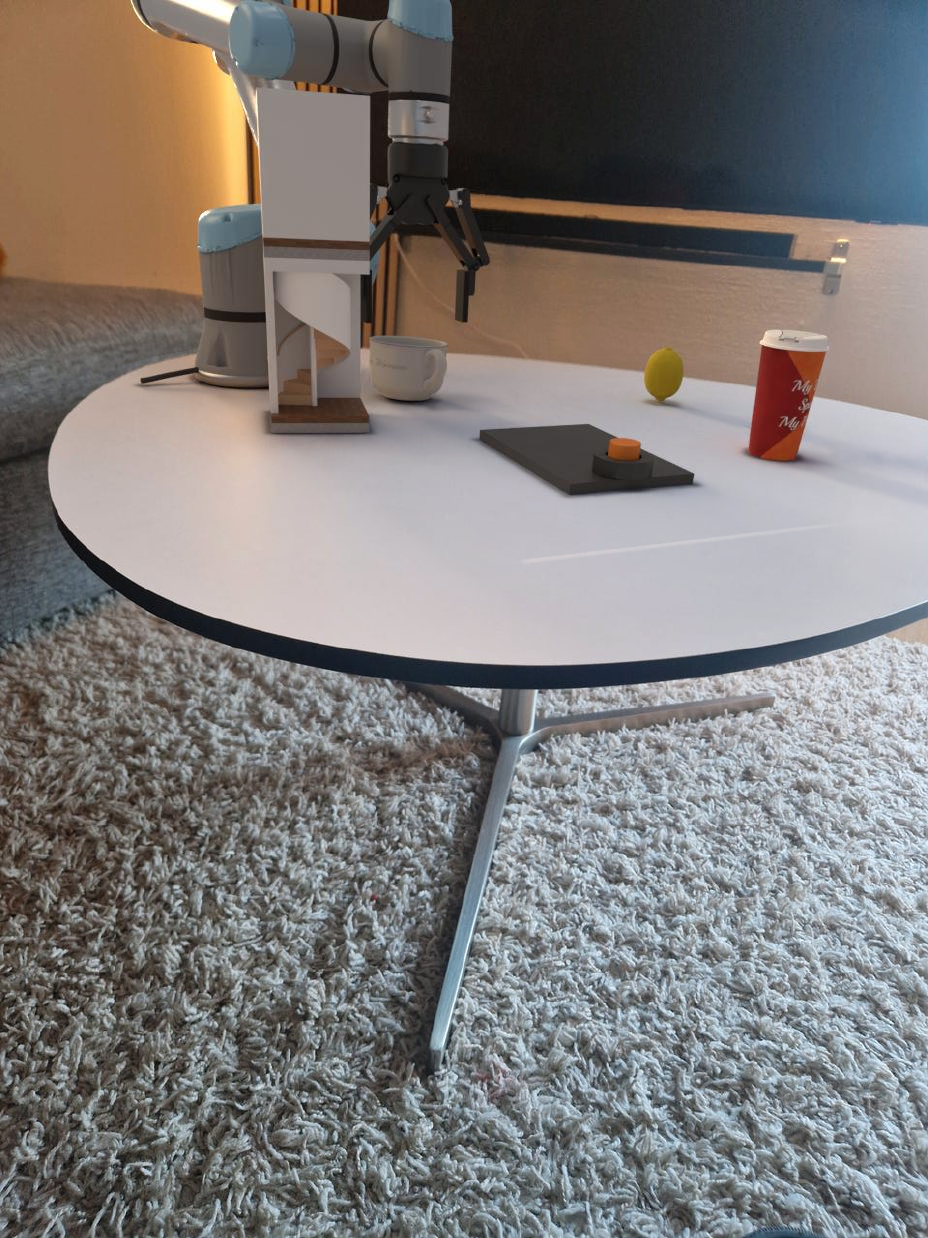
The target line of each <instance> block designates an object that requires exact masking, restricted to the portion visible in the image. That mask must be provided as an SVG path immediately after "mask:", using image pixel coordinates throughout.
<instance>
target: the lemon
mask: <svg viewBox="0 0 928 1238" xmlns="http://www.w3.org/2000/svg"><path fill="white" fill-rule="evenodd" d="M683 379H684V361H683V359H682V357H681V355H680V354H679V353H678V352H676V351H675V350H674V349H672V348H671V346H668V345H667V346H665V347H663V348H662V349H659V350H657V351H655V352H654V353H653V354H652V355H651V356H650V357H649V359H648V360H647V363H646V366H645V368H644V375H643V382H644V387H645V389H646V391H647V392H648V394H649V395H650V396H652V397H654V398H655V401H656V402H658V403H663V402H664V401H665V400H666V399H668V398H671V397H673V396H674V395H675V394H676V393H677V392H678V391H679V389H680V387H681V386H682V383H683Z"/></svg>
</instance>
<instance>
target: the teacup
mask: <svg viewBox="0 0 928 1238" xmlns="http://www.w3.org/2000/svg"><path fill="white" fill-rule="evenodd" d="M368 341H369V355H368V357H369V359H368V362H369V363H368V370H369V379H370V382H371V384H372V386H373V387H374V388H375V389H377V391H378V392H379V393H380V395H382V396H383V397H385V398H388V399H393V400H398V401H399V400H400V401H411V402H412V401H413V402H414V401H427V400H429V399H430V398H432V396H433V395H435V394H436V393H438V392H439V390H441V388H442V386H443V384H444V381H445V380H444V379H445V376H446V373H447V368H448V361H447V352H448V351H447V350H448V348H449V344H448V343H447V342H445V341H442V340H438V339H431V338H423V337H418V336H417V337H416V336H406V335H405V336H404V335H402V336H401V335H374V336H370V337H369V338H368Z"/></svg>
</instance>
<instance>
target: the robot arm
mask: <svg viewBox="0 0 928 1238" xmlns="http://www.w3.org/2000/svg"><path fill="white" fill-rule="evenodd" d="M130 2H131V5H132V7H133V10H134V12H135V14H136V15H137V18H138V19H139V20H140V21H141V22H142V23H143V24H144V26H146V27H147V28H148V29H149V30H151V31H152V32H154V33H156V34H158V35H159V36H162V37H165V38H167V39H171V40H175V41H179V42H185V43H188V44H189V43H190V44H196V45H203V46H205V47H207V48H209V49H210V50H211V54H212V55H213V58H214V61H215V63H216V65H217V67H218V69H220V70H221V72H223V73H224V74H226V75H228V76H230V77H231V79H232V81H233V84H234V87H235V90H236V93H237V96H238V98H239V101H240V104H241V107H242V109H243V112H244V115H245V118H246V120H247V123H248V126H249V130H250V132H251V135H252V138H253V140H254V143H255V146H256V149H257V151H258V152H259V149H258V126H257V104H256V87H257V88H270V89H284V90H297V87H296V84H295V83H305V84H314V85H316V86H317V85H319V86H324V87H333V88H340V89H343V90H344V91H346V92H349V93H354V94H364V95H371V94H373V93H377V92H378V93H379V92H385V91H386V92H387V91H388V96H387V97H388V99H387V100H388V105H387V106H388V108H387V110H388V111H387V137H388V138H389V139H392V143H389V146H387V183H386V184H385V185H386V186H382V185H381V186H379V185H377V184H376V183H371V182H370V275H367V274H360V322H362V323H365V324H373V285H374V283H375V281H376V278H377V275H378V272H379V263H380V258H381V257H380V256H381V247H382V246H383V245H384V244H385V243H386V242H387V240H388V239H389V238H390V236H391V234H393V232H394V231H395V230H396V229H397V228H398V227H399V226H400V225H401V223H402V224H403V225H411V226H412V225H417V224H418V225H422V226H431V225H432V226H433V227H434V228H435V229H436V230H437V232H439V234H440V235H441V237H442V239H443V240H444V242H445V243H446V244H447V246H448V248H449V249H450V251H451V252H452V254H453V255H454V256H455V259H457V261H458V263H459V264H460V266H462V268H463V269H456V282H455V283H456V284H455V309H454V320H455V321H457V322H459V323H468V322H469V301H470V300H469V299H470V297H472V296H473V297H474V295H475V293H476V276H477V272H478V271H479V270H480V268H482V267H485V266H486V267H487V266H489V265H490V263H491V259H490V256H489V253H488V251H487V247H486V245H485V242H484V239H483V237H482V234H481V232H480V228H479V225H478V222H477V220H476V217H475V215H474V212H473V208H472V202H471V201H472V199H471V191H470V189H468V188H465V187H458V188H456V189H451V190H449V187H448V183H447V181H448V172H449V171H448V170H449V169H448V167H449V149H448V147H447V146H445V145H444V142H447V141H448V140H449V135H450V98H451V79H452V77H451V74H452V53H453V40H454V35H453V9H452V4H451V1H450V0H389V1H388V4H389V5H388V12H387V18H386V19H380V20H364V19H359V18H352V17H347V16H341V15H336V14H329V13H326V12H325V13H324V12H316V11H311V10H309V9H303V8H299V7H293V2H292V0H130ZM383 198H384V199H385V200H386V202H387V204H388V205H389V207H390V208H389V209H388V210H387V212H386V213H385V215H384V216H382V220H381V222H380V223H379V224H378V226H375V225H374V224H373V222H372V221H371V220H372V217H373V215H374V213H375V210H376V208H377V205H379V204H380V203H381V202H382V201H383V200H382V199H383ZM449 202H450V203H451V206H452V207H453V208H455V211H456V215H457V218H458V220H459V223H460V226H461V229H462V231H463V233H464V236H465V239H466V242H467V244H468V247H469V248H467V245H465V243H464V241H463V240H462V238H461V237H460V235H459V233H458V232H457V231H456V230H455V228H454V226H453V225H452V223H451V220H450V218H449V217H448V215H447V214H446V212H445V211H444V209H445V208H446V206H447V205H448V203H449ZM196 248H197V251H198V258H199V270H200V271H199V272H200V283H201V297H202V307H203V328H202V331H201V336H200V339H199V343H198V348H197V352H196V356H195V360H194V367H188V368H183V369H178V370H173V371H169V372H164V373H158V374H154V375H150V376H145V377H140V384H141V385H145V384H150V383H153V382H154V383H155V382H158V381H162V380H169V379H172V378H178V377H183V376H187V375H192V374H194V377H195V379H196V380H198V381H199V382H203V383H204V384H208V385H213V386H214V385H215V386H220V387H221V386H222V387H231V388H269V372H268V349H267V327H266V305H265V282H264V260H263V238H262V215H261V203H252V204H248V203H247V204H246V203H245V204H234V205H225V206H219V207H214V208H211V209H210V208H209V209H207V210H206V211H204V212H203V213H201V215H200V216H199V218H198V221H197V246H196Z"/></svg>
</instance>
